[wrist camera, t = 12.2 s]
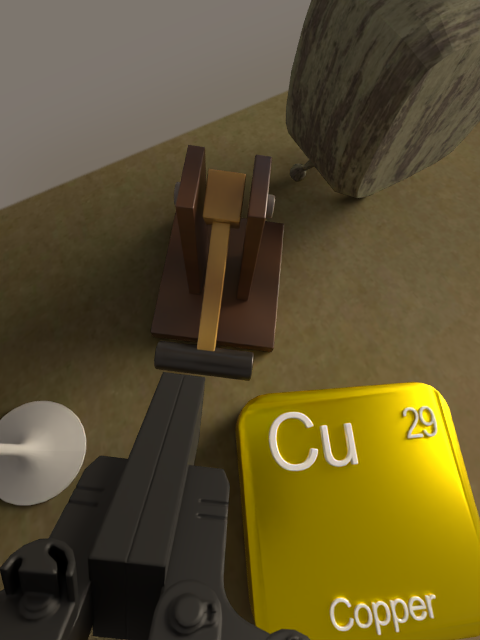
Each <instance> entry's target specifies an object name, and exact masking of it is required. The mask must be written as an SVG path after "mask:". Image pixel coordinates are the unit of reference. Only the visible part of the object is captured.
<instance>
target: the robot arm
mask: <svg viewBox="0 0 480 640" xmlns="http://www.w3.org/2000/svg"><path fill="white" fill-rule="evenodd" d="M204 386H205V377H198V376H190V375H182V374H174V373H166V372H163V374H162V376H161V379H160V381H159V384H158V386H157V388H156V391H155V393H154V396H153V398H152V401H151V403H150V406H149V408H148V411H147V413H146V416H145V418H144V421H143V423H142V425H141V428H140V430H139V433H138V435H137V438H136V440H135V443H134V445H133V448H132V450H131V453H130V455H129V458H128V459H124V458H116V457H108V456H99V457H98V458H97V459H96V460H95V461H94V462H92V463H91V464H90V465H89V466H88V467H87V468H86V469H85V470H84V472H83V474H82V476H81V478H80V480H79V482H78V484H77V486H76V489H74V491H73V493H72V495H71V497H70V499H69V502H68V504H67V505H66V506H65V508H64V510H63V512H62V514H61V516H60V518H59V520H58V522H57V524H56V525H55V527H54V529H53V531H52V533H51V535H50V537H49V538H48V539H38V540H36V541H33V542H31V543H28V544H26V545H24V546H22V547H21V548H20V549H18V550H17V551H16V552H14V553H13V554H11V555H10V556H9V558H8V559H7V560H6V561H5V563H4V564H3V565H2V566H1V567H0V572H1V576H2V580H3V585H4V590H2V591H0V640H88V637H89V634H90V631H91V628H92V625H93V636H98V637H107V638H116V639H126V640H310V639H309V637H308V636H306V635H304V634H302V633H300V632H298V631H296V630H292V629H280V630H278V631H276V632H273V633H271V634H270V633H268V632H266V631H264V630H262V629H260V628H258V627H257V626H255V625H253V624H251V623H249V622H247V621H246V620H245V619H243V618H242V617H240V616H239V615H238V614H237V613H236V611H235V610H234V609H233V608H232V607H231V605H230V603H229V601H228V599H227V597H226V593H225V590H224V579H223V576H224V561H225V547H226V533H227V518H228V503H229V490H230V484H229V482H228V479H227V476H226V474H225V471H224V469H218V468H210V467H201V466H194V462H195V457H196V451H197V446H198V441H199V434H200V425H201V415H202V405H203V395H204Z"/></svg>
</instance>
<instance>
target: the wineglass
mask: <svg viewBox="0 0 480 640" xmlns="http://www.w3.org/2000/svg"><path fill="white" fill-rule="evenodd" d="M85 453H86V436H85V431H84V427H83V425H82V424H81V422H80V420H79V418H78V417H77V416H76V415H75V414H74V413H73V412H72V411H71V410H70V409H68V408H67V407H65V406H63V405H62V404H58V403H54V402H51V401H35V402H31V403H26V404H24V405H22V406H19V407H17V408H15V409H13V410H12V411H11V412H9V413H8V414H6V415H5V416H4V417H3V418H2V419H1V420H0V498H1V499H2V500H4V501H5V502H8V503H12V504H16V505H33V504H37V503H41V502H45V501H47V500H49V499H51V498H53V497H55V496H57V495H58V494H59V493H61V492H62V491H63V490H64V489H65V488H67V487H68V486H69V485H70V483H71V482H72V481H73V480H74V478H75V477H76V476H77V474H78V472H79V470H80V468H81V466H82V464H83V461H84V457H85Z"/></svg>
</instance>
